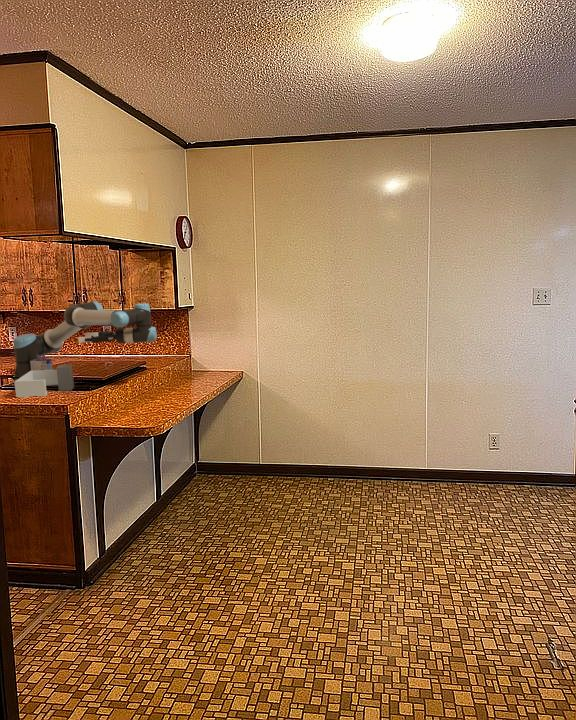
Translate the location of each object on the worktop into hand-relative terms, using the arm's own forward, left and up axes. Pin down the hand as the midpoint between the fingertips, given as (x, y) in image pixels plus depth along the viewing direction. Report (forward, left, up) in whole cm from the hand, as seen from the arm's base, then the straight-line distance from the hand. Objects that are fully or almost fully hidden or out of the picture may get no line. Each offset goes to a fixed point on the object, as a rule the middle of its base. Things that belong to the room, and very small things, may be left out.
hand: (81, 337), depth 313 cm
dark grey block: (0, -10, -26) cm, 28 cm away
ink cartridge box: (-20, -28, -26) cm, 43 cm away
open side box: (0, -24, -26) cm, 35 cm away
